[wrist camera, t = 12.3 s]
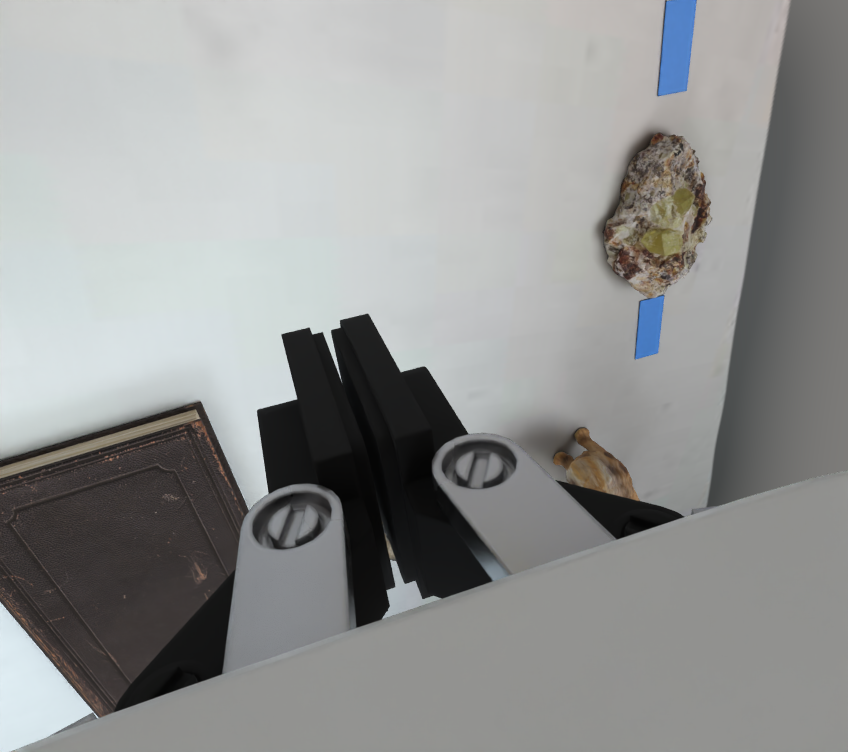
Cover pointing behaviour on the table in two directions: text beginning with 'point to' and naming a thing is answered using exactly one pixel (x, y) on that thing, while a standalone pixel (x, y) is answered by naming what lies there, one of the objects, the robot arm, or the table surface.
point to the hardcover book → (117, 544)
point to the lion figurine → (596, 469)
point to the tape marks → (670, 81)
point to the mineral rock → (658, 216)
